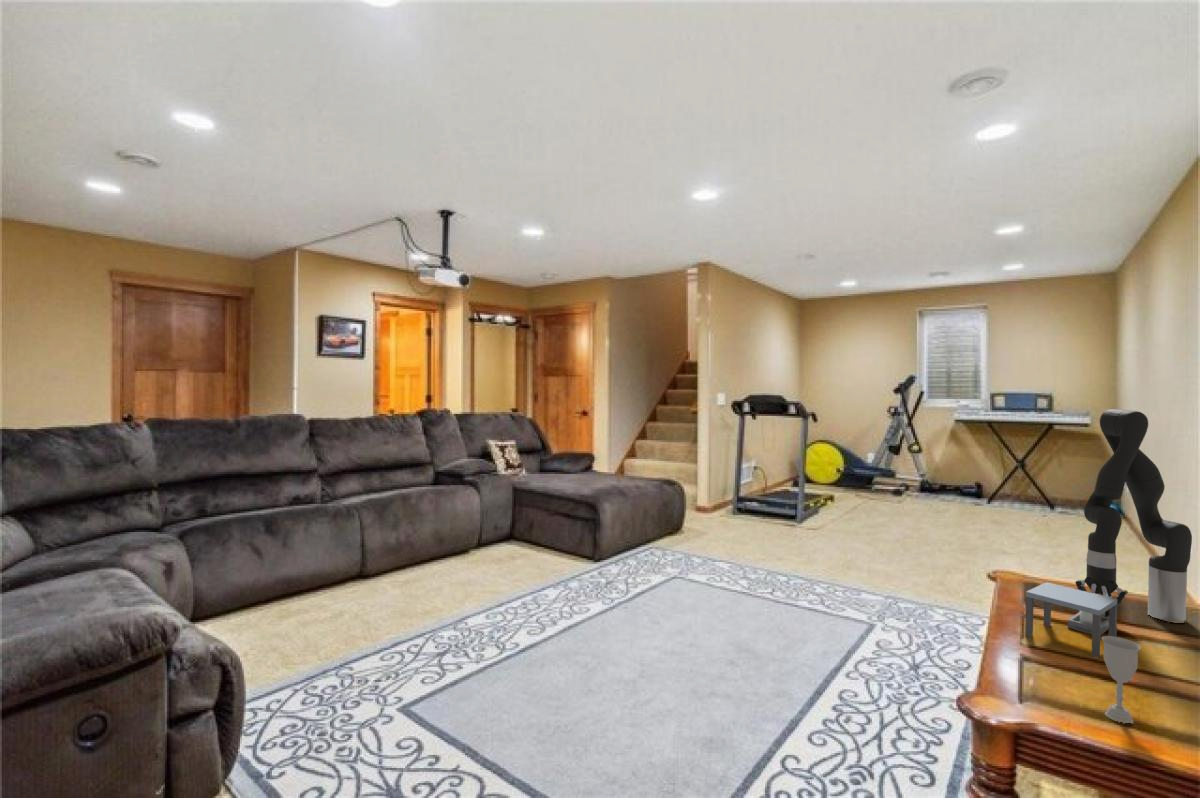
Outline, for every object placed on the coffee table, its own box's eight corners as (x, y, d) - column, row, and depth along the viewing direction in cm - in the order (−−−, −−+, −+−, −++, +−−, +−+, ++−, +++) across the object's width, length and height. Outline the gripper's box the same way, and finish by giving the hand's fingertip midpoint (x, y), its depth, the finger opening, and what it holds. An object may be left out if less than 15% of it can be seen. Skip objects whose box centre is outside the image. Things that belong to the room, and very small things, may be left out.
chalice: (1147, 728, 131) (1149, 651, 131) (1112, 724, 133) (1114, 648, 132) (1124, 710, 139) (1126, 637, 138) (1092, 707, 140) (1094, 634, 139)
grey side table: (1045, 623, 189) (1046, 582, 189) (1116, 644, 174) (1117, 599, 174) (1025, 635, 180) (1026, 591, 180) (1098, 658, 165) (1099, 610, 165)
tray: (1087, 613, 197) (1087, 593, 197) (1118, 621, 190) (1118, 600, 190) (1067, 627, 186) (1067, 606, 186) (1099, 636, 180) (1099, 614, 180)
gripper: (1132, 567, 188) (1131, 619, 188) (1079, 557, 200) (1078, 606, 200) (1125, 571, 184) (1124, 624, 184) (1071, 560, 196) (1070, 610, 196)
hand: (1100, 614), depth 192 cm, fingers closed on tray, 3 cm apart
